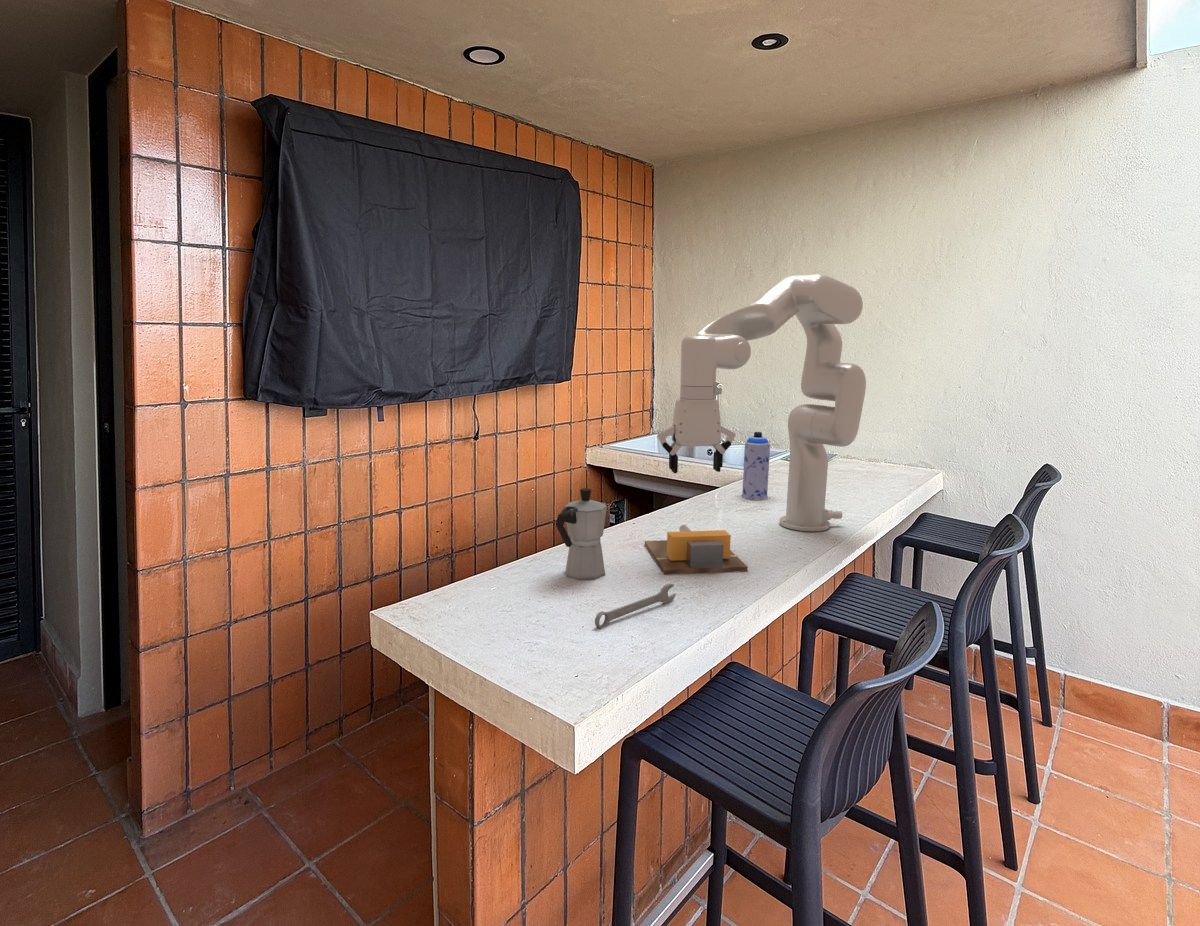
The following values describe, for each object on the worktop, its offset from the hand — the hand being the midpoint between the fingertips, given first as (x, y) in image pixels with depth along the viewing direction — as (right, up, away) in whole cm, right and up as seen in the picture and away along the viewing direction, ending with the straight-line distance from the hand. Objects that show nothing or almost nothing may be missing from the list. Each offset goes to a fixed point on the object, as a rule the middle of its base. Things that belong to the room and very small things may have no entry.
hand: (695, 471), depth 154 cm
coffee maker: (-25, -21, -9) cm, 34 cm away
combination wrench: (-14, -26, -29) cm, 41 cm away
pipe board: (0, -19, +2) cm, 19 cm away
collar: (0, -19, -2) cm, 19 cm away
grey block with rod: (0, -18, +1) cm, 18 cm away
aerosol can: (+26, -9, +58) cm, 64 cm away
